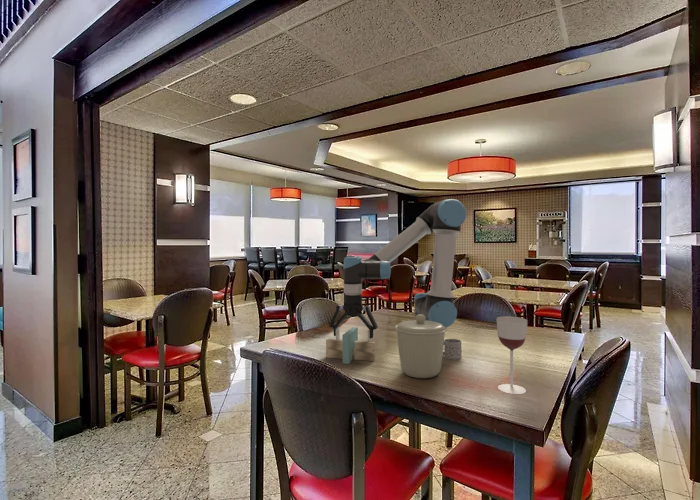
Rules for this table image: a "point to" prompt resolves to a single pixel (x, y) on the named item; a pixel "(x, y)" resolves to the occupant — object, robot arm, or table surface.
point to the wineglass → (511, 345)
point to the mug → (452, 349)
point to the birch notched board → (359, 352)
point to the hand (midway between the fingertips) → (353, 345)
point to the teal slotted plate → (349, 344)
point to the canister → (420, 346)
